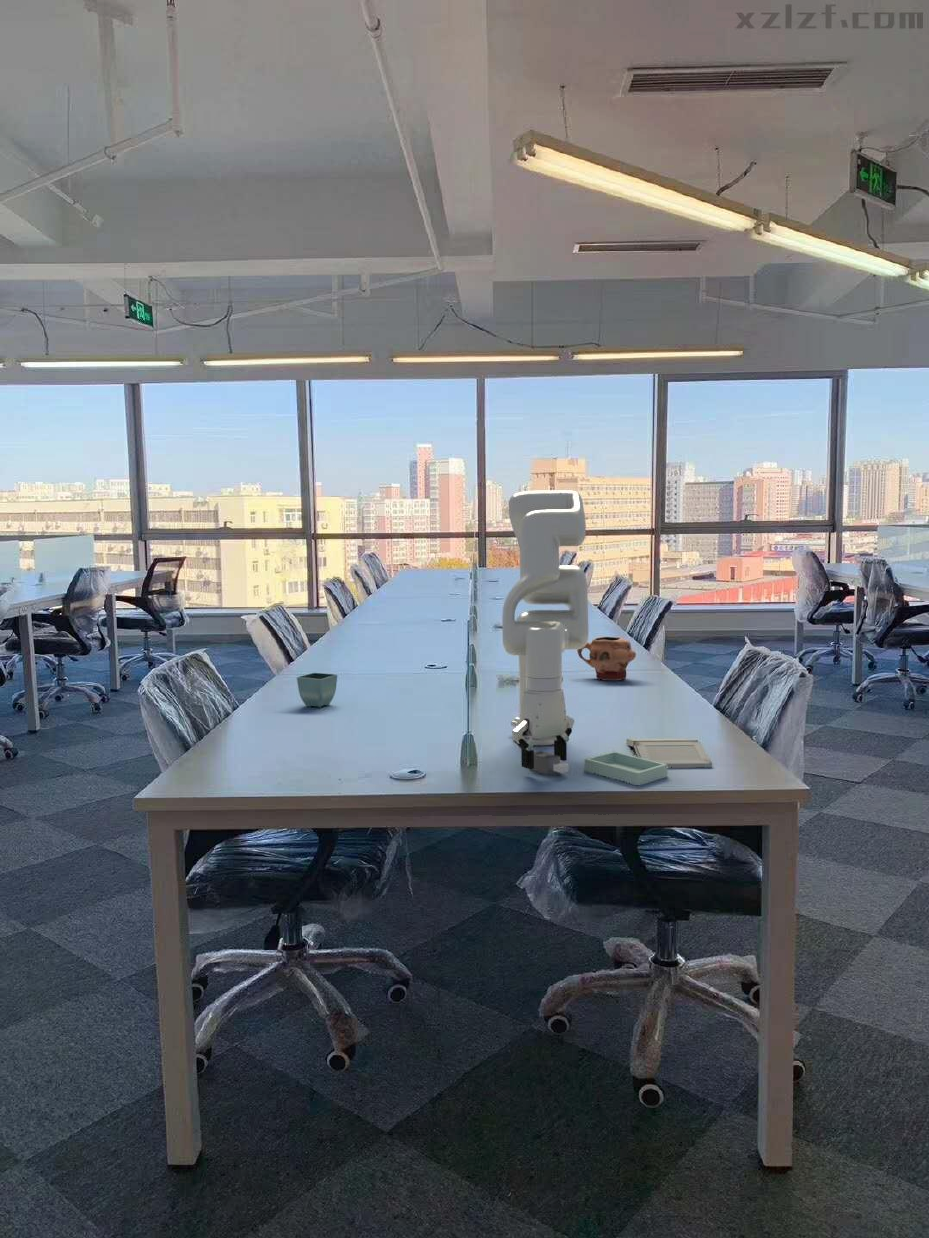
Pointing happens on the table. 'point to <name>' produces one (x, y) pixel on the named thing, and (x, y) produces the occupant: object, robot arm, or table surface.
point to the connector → (548, 764)
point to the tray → (626, 768)
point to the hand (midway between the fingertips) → (544, 763)
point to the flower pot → (317, 688)
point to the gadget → (672, 752)
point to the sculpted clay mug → (609, 657)
